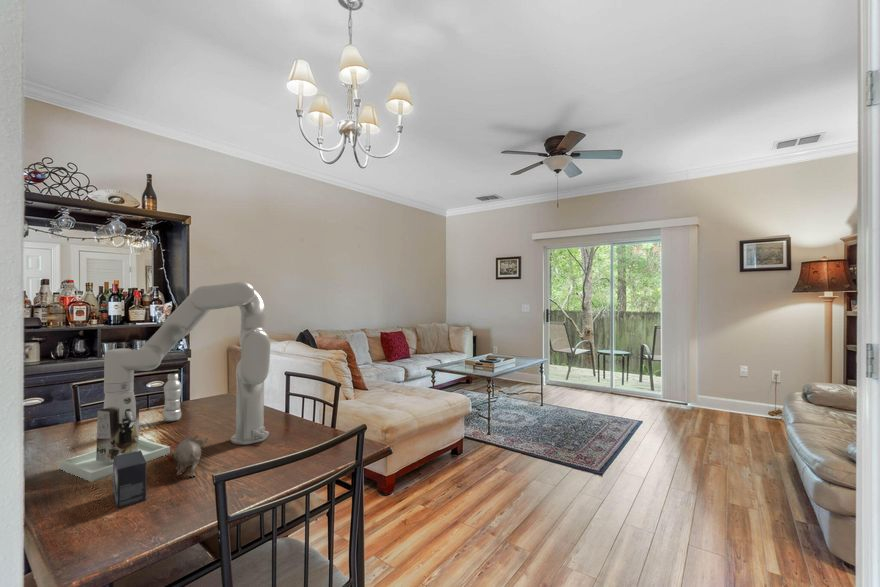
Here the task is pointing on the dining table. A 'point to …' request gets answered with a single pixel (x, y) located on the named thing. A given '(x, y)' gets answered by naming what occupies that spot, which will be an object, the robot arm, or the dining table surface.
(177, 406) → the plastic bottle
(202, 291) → the robot arm
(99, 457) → the coffee box
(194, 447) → the rhinoceros figurine
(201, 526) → the dining table surface
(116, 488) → the small box
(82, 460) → the tray
